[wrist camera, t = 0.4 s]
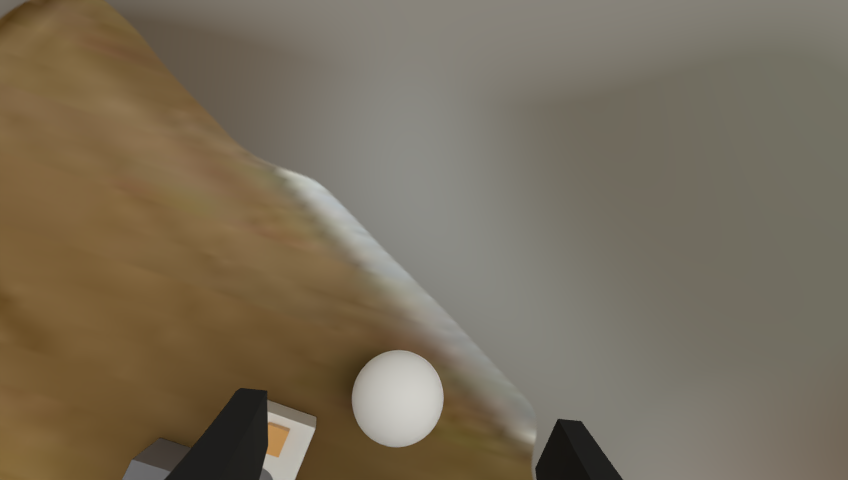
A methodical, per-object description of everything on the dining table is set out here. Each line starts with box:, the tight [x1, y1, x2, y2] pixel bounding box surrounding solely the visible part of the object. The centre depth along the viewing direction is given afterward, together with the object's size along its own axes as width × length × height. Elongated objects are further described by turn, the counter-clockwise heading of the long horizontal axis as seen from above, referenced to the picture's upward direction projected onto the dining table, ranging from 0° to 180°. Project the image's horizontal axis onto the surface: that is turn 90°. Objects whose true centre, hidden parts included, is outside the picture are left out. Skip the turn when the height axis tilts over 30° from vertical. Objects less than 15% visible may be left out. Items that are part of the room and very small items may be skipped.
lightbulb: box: [352, 350, 444, 447], centre depth 32 cm, size 6×6×11 cm
